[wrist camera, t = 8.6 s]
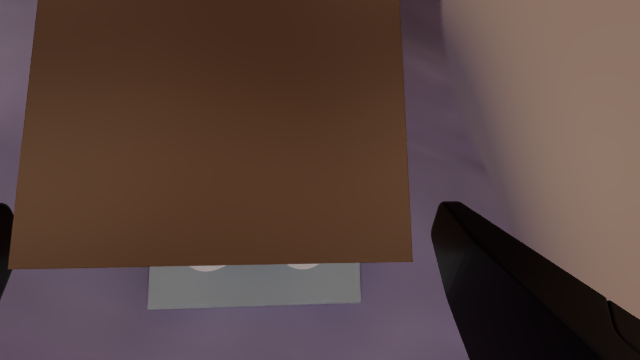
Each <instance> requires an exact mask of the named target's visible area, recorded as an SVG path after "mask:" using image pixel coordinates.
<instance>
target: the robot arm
mask: <svg viewBox="0 0 640 360" xmlns="http://www.w3.org/2000/svg"><path fill="white" fill-rule="evenodd" d="M13 218H14V215H13V213H12V211H11V209H10V207H9V206H8V205H6V204H4V203H0V299H1V297H2V294H3V292H4V289H5V287H6V284H7V282H8V279H9V277H10V274H11V272H12V269H8V262H9V254H10V245H11V236H12V227H13ZM431 238H432V243H433V247H434V251H435V255H436V258H437V262H438V266H439V270H440V274H441V278H442V282H443V286H444V290H445V294H446V297H447V300H448V303H449V306H450V309H451V311H452V314H453V317H454V319H455V322H456V325H457V327H458V330H459V333H460V335H461V338H462V341H463V343H464V346H465V349H466V351H467V354H468V357H469V359H470V360H640V319H638V318H636V317H635V316H633V315H631V314H630V313H629V312H627V311H625V310H624V309H622V308H621V307H620V306H618V305H616V304H615V303H613V302H612V301H610V300H609V301H607V299H606V298H605V297H604V296H603V295H601V294H600V293H598V292H596V291H595V290H593V289H592V288H590V287H589V286H587V285H586V284H584V283H583V282H581V281H580V280H578V279H577V278H575V277H574V276H572V275H571V274H569V273H568V272H566V271H564V270H563V269H561V268H560V267H558V266H557V265H555V264H554V263H552V262H551V261H549V260H548V259H546V258H545V257H543V256H542V255H540V254H539V253H537V252H535V251H534V250H532V249H531V248H529V247H528V246H526V245H525V244H523V243H522V242H520V241H519V240H517V239H516V238H514V237H513V236H511V235H510V234H508V233H507V232H505V231H504V230H502V229H501V228H499V227H497V226H496V225H494V224H493V223H491V222H490V221H488V220H487V219H485V218H484V217H482V216H481V215H479V214H478V213H476V212H475V211H473V210H472V209H470V208H469V207H467V206H465V205H464V204H462V203H461V202H458V201H444V202H441V203H440V205H439V206H438V209H437V213H436V216H435V219H434V222H433V226H432V230H431Z"/></svg>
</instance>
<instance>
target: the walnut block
mask: <svg viewBox="0 0 640 360" xmlns="http://www.w3.org/2000/svg"><path fill="white" fill-rule="evenodd" d="M376 262H413V257H412V237H411V217H410V197H409V177H408V157H407V137H406V117H405V98H404V78H403V58H402V38H401V18H400V0H38V4H37V12H36V21H35V30H34V39H33V48H32V57H31V66H30V75H29V84H28V93H27V102H26V111H25V120H24V129H23V137H22V146H21V155H20V164H19V173H18V182H17V191H16V200H15V209H14V218H13V227H12V236H11V245H10V254H9V262H8V269H56V268H109V267H163V266H216V265H270V264H323V263H376Z"/></svg>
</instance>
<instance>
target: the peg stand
mask: <svg viewBox="0 0 640 360" xmlns="http://www.w3.org/2000/svg"><path fill="white" fill-rule="evenodd" d="M336 303H361V296H360V264H359V263H323V264H270V265H216V266H163V267H150V273H149V292H148V310H156V309H186V308H216V307H246V306H276V305H306V304H336Z"/></svg>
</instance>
